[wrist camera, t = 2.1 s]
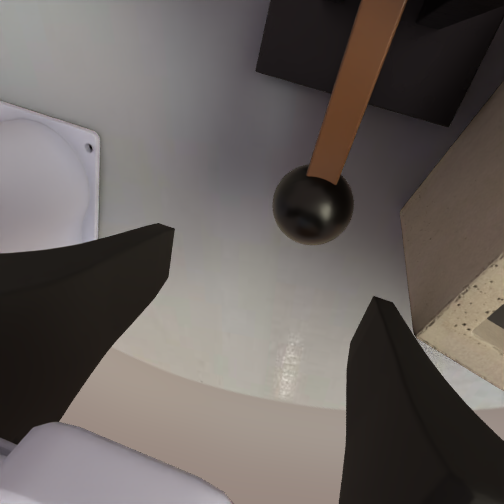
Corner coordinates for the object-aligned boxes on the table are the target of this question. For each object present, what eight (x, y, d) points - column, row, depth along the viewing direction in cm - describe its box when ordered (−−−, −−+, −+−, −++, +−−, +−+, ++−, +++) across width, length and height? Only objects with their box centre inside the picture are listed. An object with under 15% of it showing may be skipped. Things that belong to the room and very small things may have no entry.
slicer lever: (342, 227, 16) (333, 271, 14) (275, 205, 16) (255, 245, 14) (525, -199, 8) (575, -260, 6) (391, -224, 8) (389, -291, 6)
